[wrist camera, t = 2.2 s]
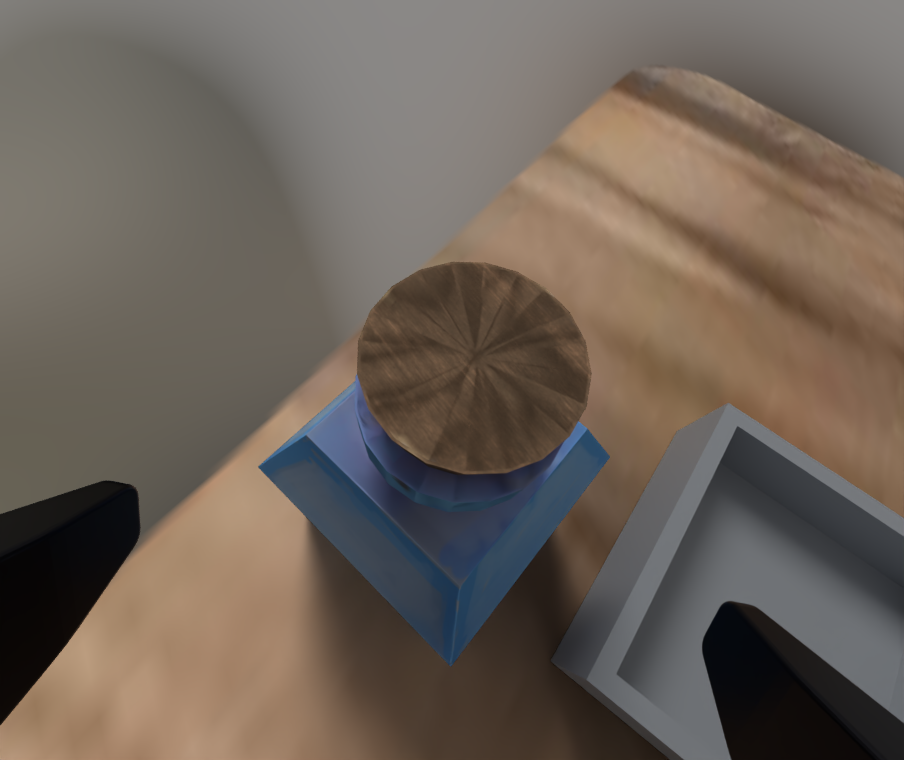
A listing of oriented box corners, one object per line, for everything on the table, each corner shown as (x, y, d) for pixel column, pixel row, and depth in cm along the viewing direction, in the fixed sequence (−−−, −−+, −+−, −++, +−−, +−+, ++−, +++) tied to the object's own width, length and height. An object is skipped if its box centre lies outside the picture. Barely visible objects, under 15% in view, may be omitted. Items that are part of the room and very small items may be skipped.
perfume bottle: (543, 497, 18) (774, 356, 7) (432, 636, 15) (510, 765, 4) (425, 392, 19) (457, 128, 8) (306, 506, 17) (125, 358, 6)
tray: (837, 897, 14) (961, 986, 11) (550, 661, 15) (586, 679, 12) (914, 592, 17) (1020, 594, 14) (677, 431, 19) (728, 402, 16)
